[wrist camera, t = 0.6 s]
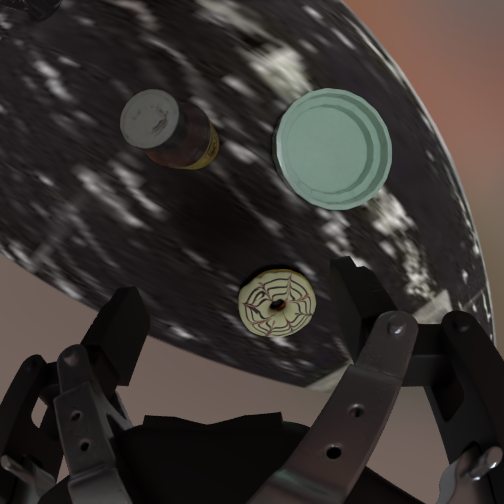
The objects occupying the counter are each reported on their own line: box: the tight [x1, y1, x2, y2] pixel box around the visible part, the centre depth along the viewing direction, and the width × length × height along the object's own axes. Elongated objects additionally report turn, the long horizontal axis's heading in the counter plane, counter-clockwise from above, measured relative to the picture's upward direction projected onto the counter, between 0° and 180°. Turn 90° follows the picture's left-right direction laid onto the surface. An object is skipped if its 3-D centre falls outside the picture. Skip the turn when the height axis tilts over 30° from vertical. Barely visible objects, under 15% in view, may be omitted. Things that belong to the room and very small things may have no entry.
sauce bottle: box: [120, 89, 219, 169], centre depth 24 cm, size 7×6×20 cm
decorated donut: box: [239, 269, 316, 337], centre depth 39 cm, size 10×11×4 cm
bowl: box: [272, 88, 392, 210], centre depth 33 cm, size 15×15×5 cm
